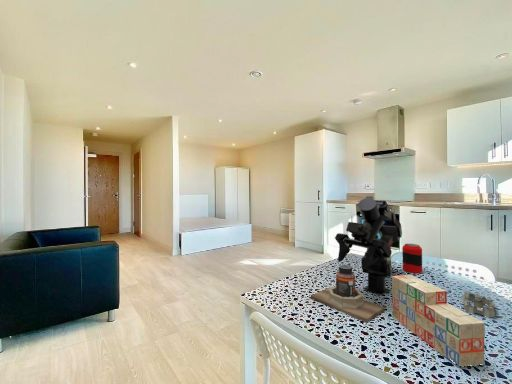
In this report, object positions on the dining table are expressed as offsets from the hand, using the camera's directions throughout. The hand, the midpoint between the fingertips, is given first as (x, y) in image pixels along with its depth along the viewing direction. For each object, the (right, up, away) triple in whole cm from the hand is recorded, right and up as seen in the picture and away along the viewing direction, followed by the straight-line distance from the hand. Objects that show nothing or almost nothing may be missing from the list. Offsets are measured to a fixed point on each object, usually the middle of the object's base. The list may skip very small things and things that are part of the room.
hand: (350, 264), depth 80 cm
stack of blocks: (+13, -13, -19) cm, 27 cm away
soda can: (+40, -12, +30) cm, 52 cm away
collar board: (-2, -13, -1) cm, 13 cm away
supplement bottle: (-2, -12, -1) cm, 12 cm away
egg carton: (+38, -13, -5) cm, 40 cm away
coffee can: (+26, -12, +32) cm, 43 cm away
